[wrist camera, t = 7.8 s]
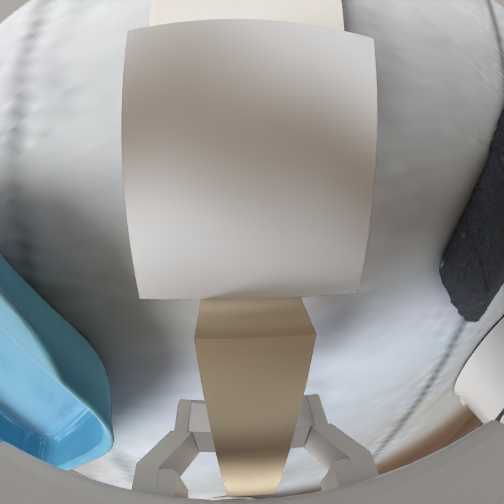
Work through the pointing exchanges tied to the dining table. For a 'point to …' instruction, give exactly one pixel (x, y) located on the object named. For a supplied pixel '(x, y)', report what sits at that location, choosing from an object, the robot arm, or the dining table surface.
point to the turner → (249, 207)
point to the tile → (249, 11)
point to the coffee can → (233, 498)
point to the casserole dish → (49, 381)
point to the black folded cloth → (479, 241)
